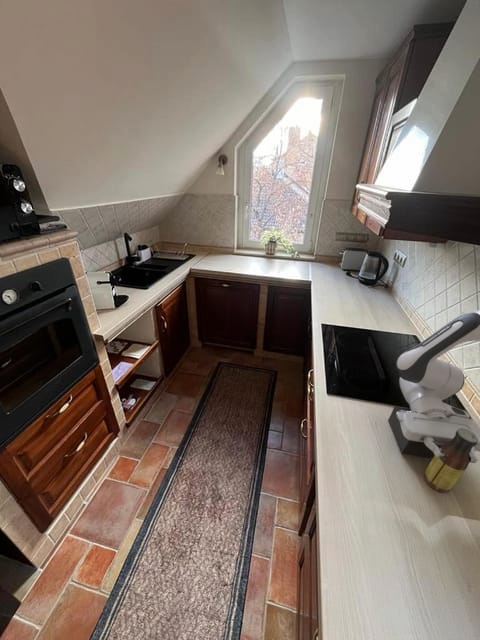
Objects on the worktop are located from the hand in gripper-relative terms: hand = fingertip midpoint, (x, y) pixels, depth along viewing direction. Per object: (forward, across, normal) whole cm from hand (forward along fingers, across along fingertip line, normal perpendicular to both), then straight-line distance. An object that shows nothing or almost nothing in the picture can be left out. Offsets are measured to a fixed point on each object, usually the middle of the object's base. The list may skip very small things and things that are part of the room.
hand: (457, 459), depth 64 cm
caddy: (-14, -1, +12) cm, 18 cm away
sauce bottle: (-1, 0, +12) cm, 12 cm away
